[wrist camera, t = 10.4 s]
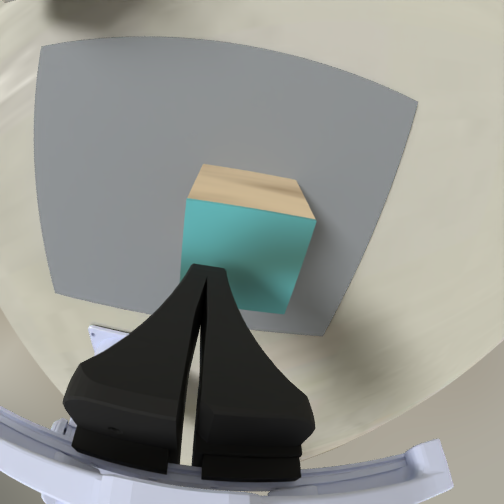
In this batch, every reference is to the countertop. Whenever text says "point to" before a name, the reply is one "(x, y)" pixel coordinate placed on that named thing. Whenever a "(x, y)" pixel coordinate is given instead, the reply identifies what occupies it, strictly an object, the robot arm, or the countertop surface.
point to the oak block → (248, 233)
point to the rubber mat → (203, 161)
